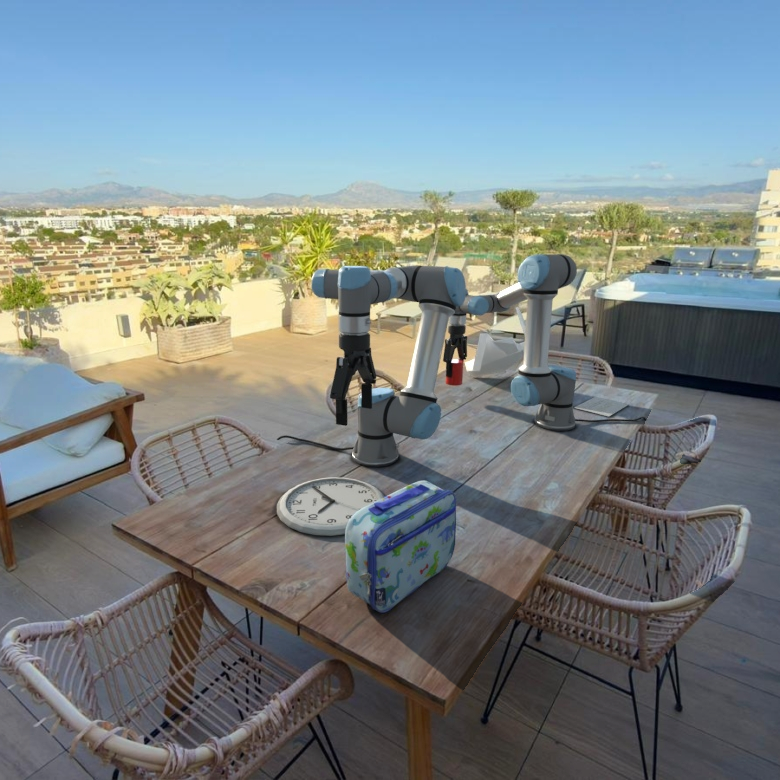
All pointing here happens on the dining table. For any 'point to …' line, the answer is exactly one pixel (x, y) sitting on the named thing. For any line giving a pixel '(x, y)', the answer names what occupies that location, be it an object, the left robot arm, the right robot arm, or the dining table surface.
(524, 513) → the dining table surface
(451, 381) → the red cylinder
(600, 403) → the invitation card
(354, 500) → the wall clock
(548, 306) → the right robot arm
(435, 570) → the lunch box
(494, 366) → the white plastic object
